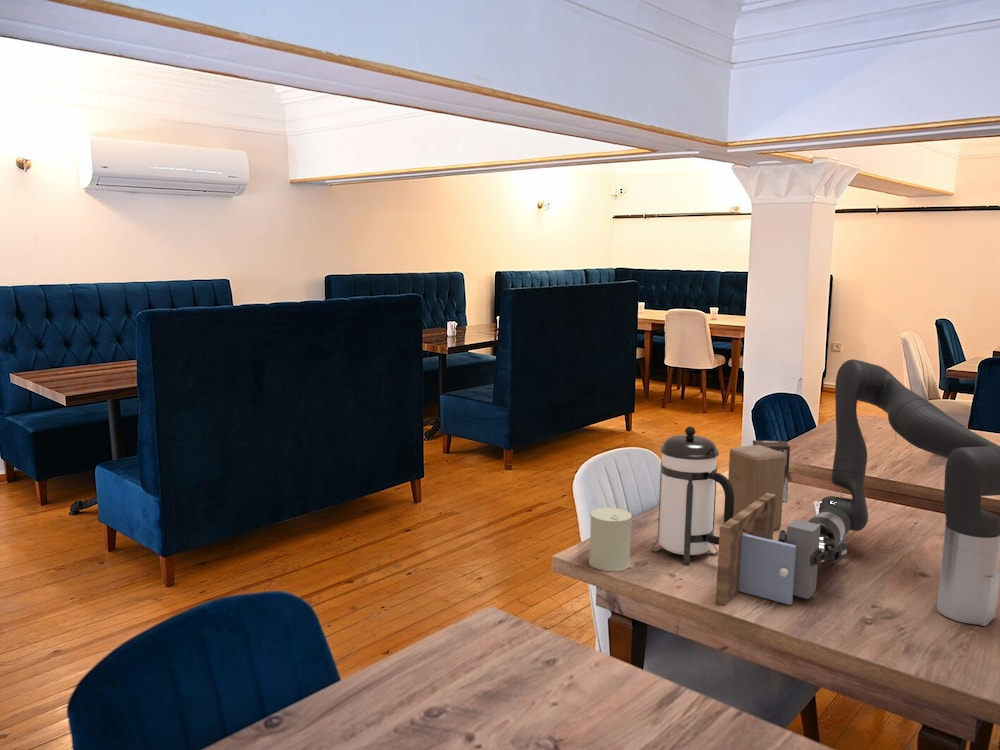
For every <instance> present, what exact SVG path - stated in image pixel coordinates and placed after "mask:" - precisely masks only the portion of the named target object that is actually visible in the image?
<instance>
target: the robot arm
mask: <svg viewBox="0 0 1000 750" xmlns="http://www.w3.org/2000/svg"><path fill="white" fill-rule="evenodd" d="M834 388H835V390H834V391H835V394H834V395H835V397H834V399H835V427H836V428H835V429H836V430H835V431H836V433H835V435H836V436H835V448H834V449H835V450H834V455H833V457H834V458H833V463H832V464H833V465H832V472H831V482H832V484H833V486H834V485H835V486H836V487H839V488H843V489H845V490H847V491H849V492H850V494H851V498H845V497H840V496H834V495H833V496H832V495H830V496H829V495H828V496H826V497H823V498H822V499H821V501H822V503H819V505H820V507H818V513H817V514H815V515H814V516H812V517H811V518H809V520H808V521H807V522H811V523H816V524H820V525H821V527H820V541H819V548H818V550H816V551H815V552H814V553H813V554H812V556H811V559H810V565H811V566H815V565H818V566H819V565H820V564H821V563H823V562H825V561H827V563H830V564H834V563H837V562H838V561H841V560H842V559H845V558H847V554H848V553H847V552H848V544H846V543H842V541H843V539H844V538H845V536H846V535H847V534H848V533H849V531H854V532H859V531H862V530H863V529H865V527H867V524H868V521H869V512H868V506H867V500H866V493H865V478H866V471H867V462H868V450H867V445H866V441H865V438H864V436H863V433H862V431H861V428H860V424H859V420H858V415H857V412H858V411H857V407H858V405H857V404H858V401H859V402H862V403H867V404H870V405H873V406H875V407H877V408H879V409H881V410H882V411H883V412H885V413H886V414H887V418H888V423H889V425H890V427H891V428H892V430H894V432H895V433H896V434H898V435H899V436H900V437H901V438H903V439H904V440H905V441H907V442H908V443H909V444H911V445H912V446H914V447H916V448H918V449H920V450H923V451H925V452H928V453H931V454H934V455H937V456H940V457H943V458H946V464H945V468H944V490H943V491H944V492H943V509H944V515H945V526H944V527H945V528H944V534H943V535H944V536H943V542H942V543H943V544H942V553H941V554H942V555H941V564H940V571H939V572H940V573H939V583H938V584H939V585H938V592H937V593H938V594H937V604H936V610H937V611H938V612H939V613H940V614H941V615H942V616H944V617H947V618H948V619H951V620H953V621H956V622H959V623H964V624H969V625H979V626H982V627H986V626H988V625H989V624H990V623H991V622H992V621H993V620H994V619H995V618H996V613H997V603H998V596H999V586H1000V569H999V568H998V567H999V566H998V565H999V557H1000V516H998V515H997V514H995V513H993V512H990V511H988V510H985V509H982V497H990V496H991V497H992V496H996V497H997V496H1000V445H999V444H997V443H995V442H993V441H991V440H989V439H986V437H983V436H981V435H979V434H977V433H976V432H973V430H971V429H969V428H968V427H966V426H964V425H963V424H962V423H960V422H959V421H957V420H956V419H954V418H953V417H951V416H950V415H948V414H947V413H946V412H944V411H943V410H942V409H941V408H939V407H937V406H936V405H934V404H933V403H932V402H930V401H929V400H927V399H926V398H924V397H922V396H920V395H919V394H918V393H916V392H914V391H912V390H911V389H909V388H907V387H906V386H905V385H904V384H903V383H902V382H900V381H899V379H898V378H896V377H895V376H894V375H893V374H892V373H891V372H890V371H889V370H887V369H886V368H885V367H882V366H880V365H879V364H873V363H869V362H865V361H862V360H859V359H858V360H857V359H855V358H854V359H852V358H851V359H848V360H846V361H844V362H843V363H842V364H841V366H840V367H839V369H838V370H837V373H836V377H835V386H834ZM821 501H820V502H821ZM830 501H833V502H832V503H834V502H837V503H835V505H834V504H830ZM786 540H787V530H783V529H781V530H780V531H779V534H778V539H777V541H779V542H783V543H786Z"/></svg>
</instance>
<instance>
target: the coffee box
mask: <svg viewBox="0 0 1000 750" xmlns="http://www.w3.org/2000/svg"><path fill="white" fill-rule="evenodd" d="M753 445H761V446H764V447H767V448H770V449H773V450H777V451H780V452H783V453H784V454H785V456H786V457H785V472H784V487H783V501H784V502H785V503H786V502H788V494H789V493H788V491H789V475H790V454H791V446H790V445H789V443H787V442H786V441H785V440H752V446H753Z"/></svg>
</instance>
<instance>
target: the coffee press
mask: <svg viewBox="0 0 1000 750" xmlns="http://www.w3.org/2000/svg"><path fill="white" fill-rule="evenodd" d="M684 432H685V434H678V435H673V436H670V437H668V438H667V439H665V440H664V442H663V444H662V445H661V446H660V453H661V462H660V473H659V474H660V475H659V491H660V493H659V499H658V515H659V516H658V517H657V518H658V523H657V538H656V540H655V542H654V543H653V544H652V546H651V549H652V551H653V552H654V553H658V552H659V551H661V550H662V549H664V550H666V551H667V552H670V553H673V554H677V555H682V556H683V557H682V558H683V565H691V556H698V555H702V554H705V553H707V552H708V553H709V554H710V555H711V556H713V557H716V556H718V551H719V550H718V549H717V547H716V545H718V546H719V536H717V535H715V534H714V530H715V511H716V498H717V497H716V496H717V495H716V494H717V483H718V484H719V485H720V486H721V487H722V489H723V493H724V506H723V507H724V509H723V524H724V523H725V522H726V521H728V520H729V519H731V518H732V517H733V513H734V492H733V488H732V485H731V483H730V481H729V480H728V478H727V477H726V476H725V475H723V474H722V473H719V472H718V466H717V458H718V456H719V453H720V451H719V449H718V448H717V446H716V444H715V442H714V441H712V440H711V439H709V438H707V437H704V436H701V435H695V434H696V430H695V428H694V427H693V426H688V427H686V428H685V430H684ZM658 543H659V545H660V546H659V547H658V548H656V549H655V546H656V545H657V544H658ZM712 546H713V548H714V549H715V551H716V552H712V551H711V550H710V549H711V548H712Z"/></svg>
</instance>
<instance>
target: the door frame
mask: <svg viewBox="0 0 1000 750" xmlns="http://www.w3.org/2000/svg"><path fill="white" fill-rule="evenodd" d="M775 500H776V495H775V494H770V493H766V494H765V495H763V496H762V497H760V498H759V499H758V500H756V501H755V502H753V503H752V504H750V505H749V506H748V507H746V508H745V509H743V510H742V511H741V512H739V513H738V514H736V515H735V516H734V517H732V518H731V519H729V520H728V521H726V522H725V523H724V522H723V523H722V524H721V525H719V536H718V537H719V545H718V550H717V551H718V554H717V572H716V573H717V574H716V590H715V591H716V592H715V604H718V605H722V606H727V605H728V604H729V603H730V602H731V601H732V600H733V599H734V598H735V597H736V596H738V594H739V592H740V591H739V575H740V558H741V542H742V533H743V530H742V528H743V527H745V526H746V525H747V524H749V523H750V522H751V521H753V520H754V519H755V523H754V533H753V536H757V537H761V538H766V539H770V540H774V515H775Z"/></svg>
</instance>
